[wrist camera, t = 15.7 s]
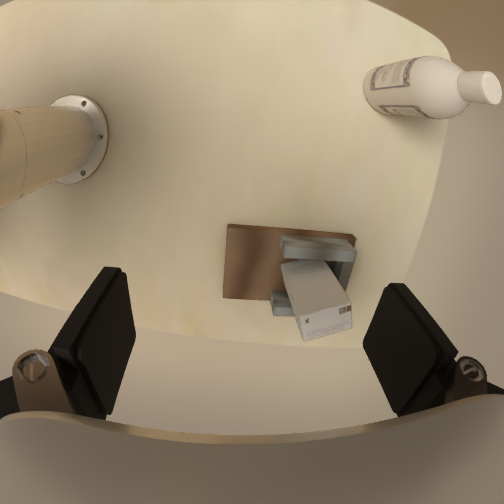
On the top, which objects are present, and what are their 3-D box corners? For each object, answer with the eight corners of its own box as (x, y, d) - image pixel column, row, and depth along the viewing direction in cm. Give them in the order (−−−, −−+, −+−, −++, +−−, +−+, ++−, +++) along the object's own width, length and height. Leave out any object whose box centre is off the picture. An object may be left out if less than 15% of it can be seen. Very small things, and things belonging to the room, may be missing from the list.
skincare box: (285, 287, 41) (301, 345, 31) (279, 261, 39) (295, 316, 29) (325, 277, 41) (353, 331, 30) (322, 250, 39) (352, 301, 28)
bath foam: (411, 105, 32) (520, 118, 14) (374, 121, 33) (482, 139, 15) (391, 62, 29) (497, 44, 11) (353, 75, 30) (455, 53, 12)
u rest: (222, 292, 43) (222, 315, 38) (227, 223, 38) (226, 240, 33) (335, 296, 45) (345, 317, 40) (352, 234, 40) (367, 250, 35)
